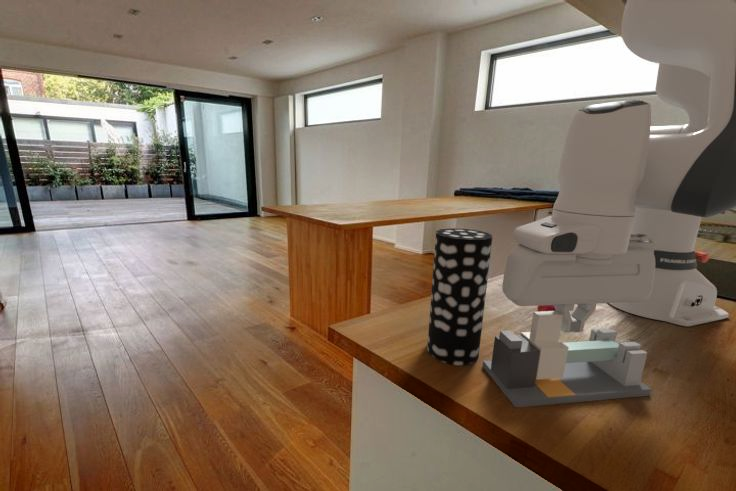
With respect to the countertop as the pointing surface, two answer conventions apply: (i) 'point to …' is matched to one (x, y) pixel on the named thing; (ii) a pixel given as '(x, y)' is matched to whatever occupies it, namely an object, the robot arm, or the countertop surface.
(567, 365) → the board
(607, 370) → the gray notched block
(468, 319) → the white-spotted black cylinder
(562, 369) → the sleeve
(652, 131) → the robot arm
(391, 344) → the countertop surface
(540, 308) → the fruit
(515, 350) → the block
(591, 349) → the pale teal rod
